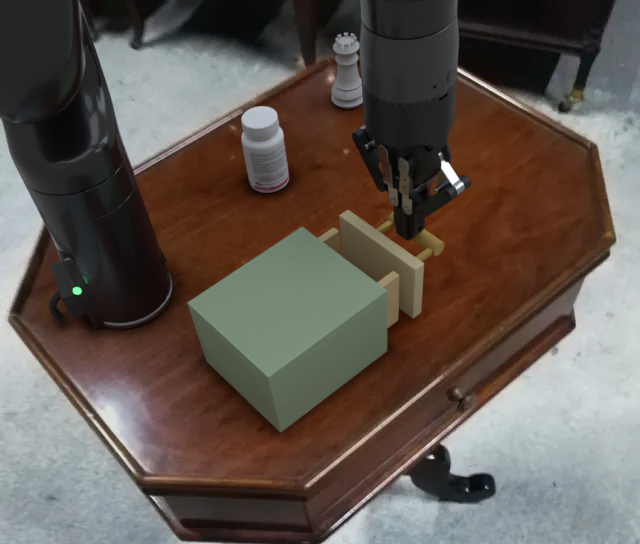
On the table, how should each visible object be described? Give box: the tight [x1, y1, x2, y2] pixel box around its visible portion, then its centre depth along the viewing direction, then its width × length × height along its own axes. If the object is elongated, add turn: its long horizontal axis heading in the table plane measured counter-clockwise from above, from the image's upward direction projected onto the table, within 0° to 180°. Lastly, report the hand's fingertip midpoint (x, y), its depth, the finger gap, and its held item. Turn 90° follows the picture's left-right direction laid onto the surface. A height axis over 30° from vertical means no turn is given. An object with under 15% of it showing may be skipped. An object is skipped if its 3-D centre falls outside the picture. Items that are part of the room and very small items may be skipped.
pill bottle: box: [240, 105, 290, 194], centre depth 84 cm, size 5×5×8 cm
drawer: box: [317, 209, 445, 329], centre depth 72 cm, size 18×10×7 cm, turn 131°
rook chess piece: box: [330, 32, 363, 110], centre depth 91 cm, size 4×4×8 cm
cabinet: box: [186, 226, 388, 433], centre depth 70 cm, size 14×12×9 cm
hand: (409, 232), depth 73 cm, fingers closed
